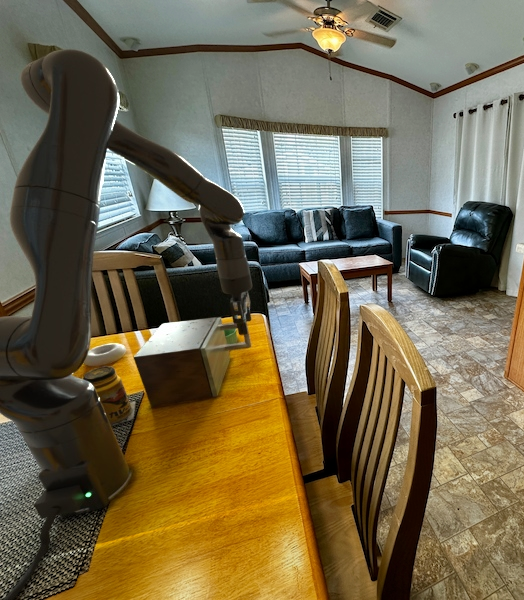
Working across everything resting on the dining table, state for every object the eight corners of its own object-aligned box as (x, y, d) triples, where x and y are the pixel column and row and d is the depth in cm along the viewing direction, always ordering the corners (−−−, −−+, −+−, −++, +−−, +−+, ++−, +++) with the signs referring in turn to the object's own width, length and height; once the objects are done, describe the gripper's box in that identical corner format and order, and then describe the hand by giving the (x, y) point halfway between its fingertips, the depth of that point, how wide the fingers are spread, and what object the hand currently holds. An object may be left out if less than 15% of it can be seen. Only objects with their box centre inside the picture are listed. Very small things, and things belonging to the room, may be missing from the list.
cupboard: (225, 360, 97) (215, 317, 92) (212, 397, 81) (198, 348, 76) (176, 367, 93) (162, 323, 88) (151, 408, 77) (133, 357, 72)
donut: (91, 373, 91) (133, 356, 99) (86, 362, 90) (129, 346, 98) (79, 362, 96) (119, 347, 104) (74, 352, 95) (116, 338, 103)
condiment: (133, 419, 74) (116, 374, 69) (83, 435, 70) (62, 388, 65) (136, 401, 80) (120, 359, 75) (90, 415, 75) (70, 371, 71)
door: (254, 355, 99) (246, 314, 94) (246, 391, 83) (236, 344, 78) (226, 359, 97) (216, 317, 92) (213, 397, 81) (200, 348, 76)
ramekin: (220, 336, 111) (217, 324, 109) (244, 338, 110) (242, 326, 108) (201, 349, 102) (198, 337, 101) (228, 351, 101) (225, 339, 100)
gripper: (224, 267, 92) (235, 318, 99) (213, 283, 80) (226, 341, 86) (252, 265, 94) (261, 315, 101) (246, 280, 82) (257, 337, 88)
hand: (245, 327), depth 93 cm, fingers open, 8 cm apart
